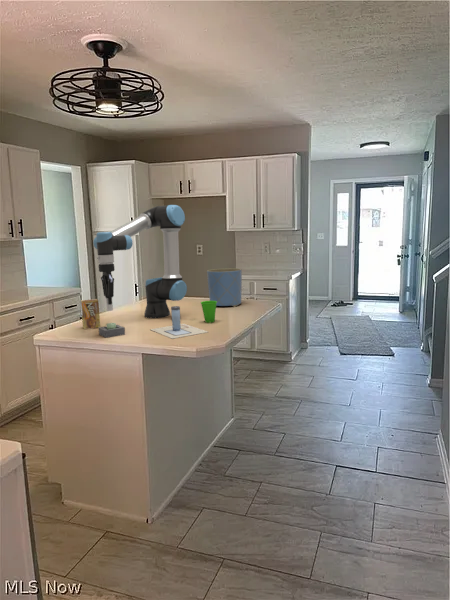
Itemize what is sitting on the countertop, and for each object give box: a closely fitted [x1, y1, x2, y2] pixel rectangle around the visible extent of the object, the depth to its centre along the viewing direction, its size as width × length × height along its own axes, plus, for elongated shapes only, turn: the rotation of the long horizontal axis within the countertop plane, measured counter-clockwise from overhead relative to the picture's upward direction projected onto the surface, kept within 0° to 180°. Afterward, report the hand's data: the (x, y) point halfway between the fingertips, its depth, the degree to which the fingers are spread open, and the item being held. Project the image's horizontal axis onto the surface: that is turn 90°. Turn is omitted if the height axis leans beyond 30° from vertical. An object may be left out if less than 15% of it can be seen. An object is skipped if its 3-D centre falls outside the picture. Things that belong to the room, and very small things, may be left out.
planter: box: [206, 267, 243, 308], centre depth 303 cm, size 23×23×24 cm
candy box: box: [80, 298, 101, 330], centre depth 249 cm, size 9×4×15 cm, turn 116°
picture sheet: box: [149, 323, 209, 340], centre depth 233 cm, size 26×20×1 cm
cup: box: [200, 300, 217, 324], centre depth 252 cm, size 9×9×11 cm
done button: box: [105, 322, 117, 329], centre depth 231 cm, size 5×5×4 cm
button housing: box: [98, 324, 126, 338], centre depth 231 cm, size 10×10×4 cm
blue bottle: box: [170, 305, 182, 331], centre depth 232 cm, size 4×4×12 cm
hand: (109, 310), depth 230 cm, fingers closed
